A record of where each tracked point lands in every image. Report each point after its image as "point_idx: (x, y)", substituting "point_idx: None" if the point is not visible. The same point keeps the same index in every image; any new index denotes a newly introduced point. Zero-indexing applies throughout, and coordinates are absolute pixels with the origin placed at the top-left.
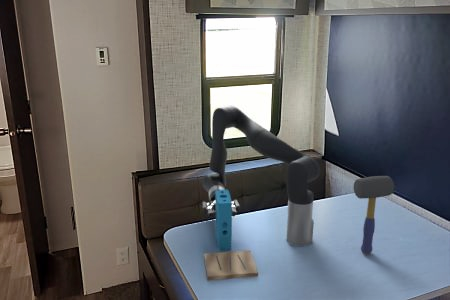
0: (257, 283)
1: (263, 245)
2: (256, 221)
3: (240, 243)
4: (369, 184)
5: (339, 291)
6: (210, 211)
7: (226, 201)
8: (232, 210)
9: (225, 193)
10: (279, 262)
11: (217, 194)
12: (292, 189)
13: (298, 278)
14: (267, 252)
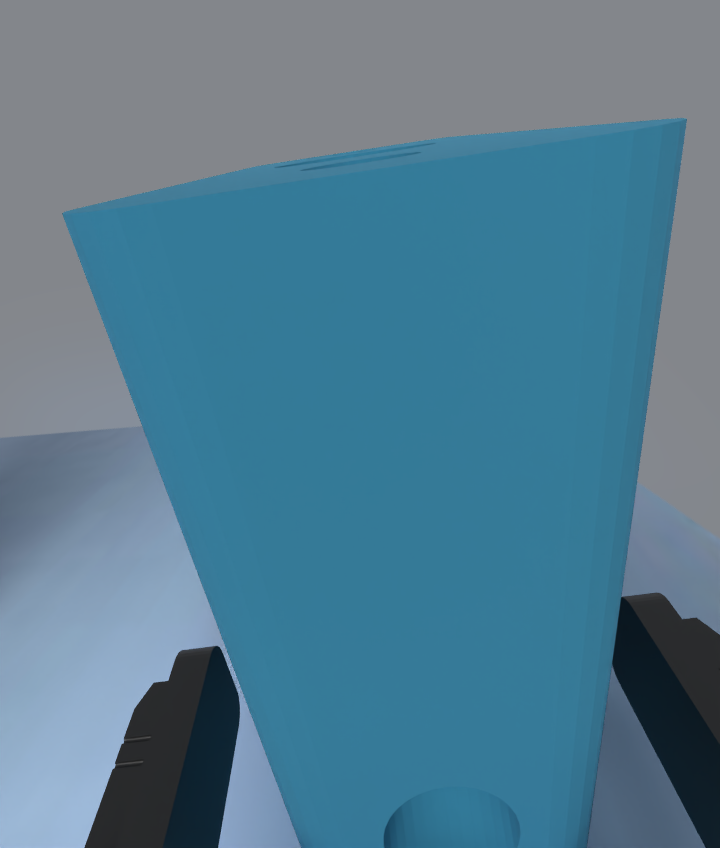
0: None
1: (55, 766)
2: None
3: (252, 813)
4: None
5: (19, 446)
6: (690, 640)
7: (325, 156)
8: (201, 699)
9: (277, 169)
10: (96, 566)
11: (500, 135)
12: None
13: (98, 481)
14: (94, 659)
